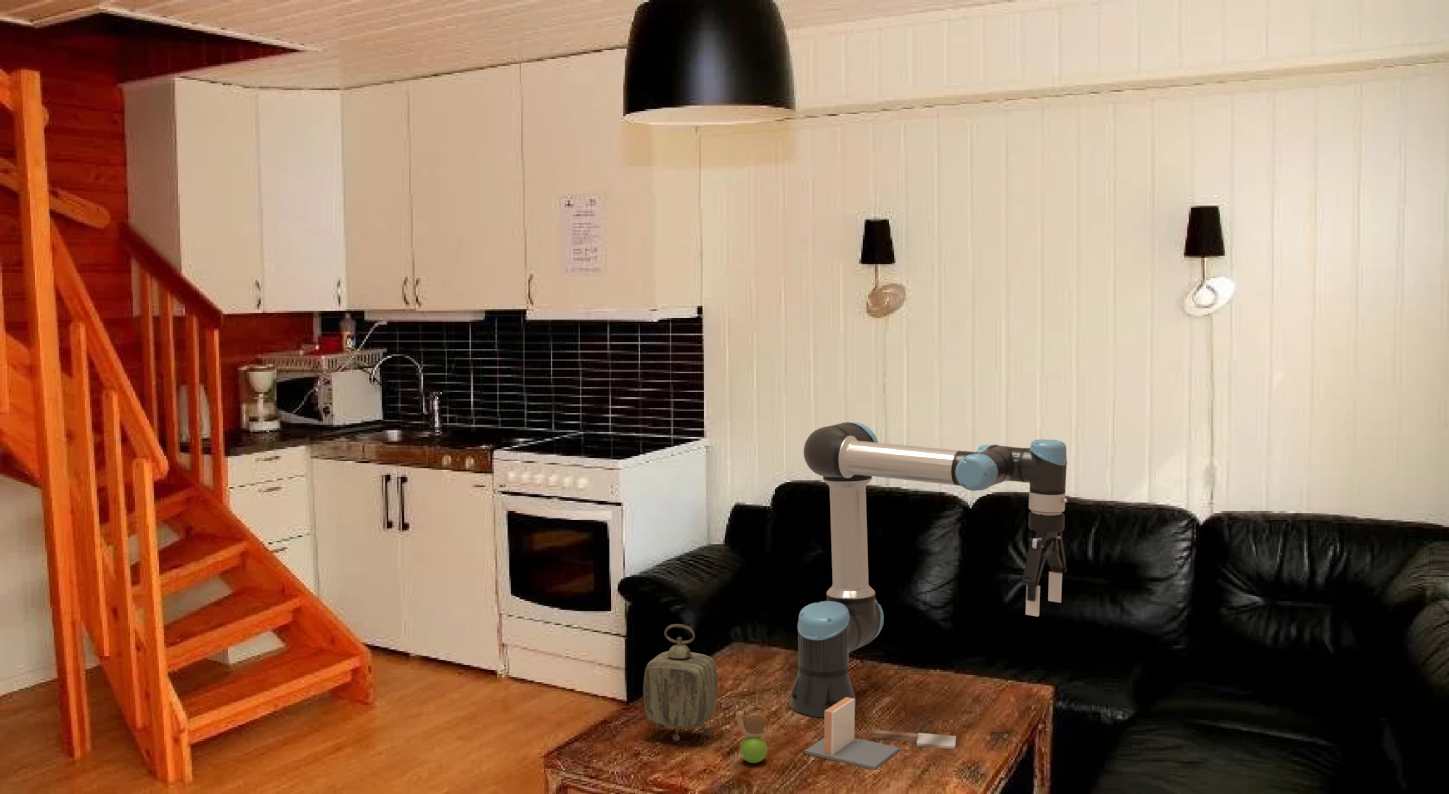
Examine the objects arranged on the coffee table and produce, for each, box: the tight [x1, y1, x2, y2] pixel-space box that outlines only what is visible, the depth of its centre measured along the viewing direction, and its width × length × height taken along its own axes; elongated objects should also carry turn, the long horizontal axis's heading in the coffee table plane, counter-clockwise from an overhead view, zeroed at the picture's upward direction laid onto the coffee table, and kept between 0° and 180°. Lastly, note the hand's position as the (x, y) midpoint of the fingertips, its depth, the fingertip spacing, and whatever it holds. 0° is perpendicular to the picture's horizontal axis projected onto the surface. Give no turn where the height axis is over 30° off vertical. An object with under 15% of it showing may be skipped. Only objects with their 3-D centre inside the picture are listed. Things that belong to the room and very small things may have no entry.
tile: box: [823, 697, 856, 755], centre depth 253 cm, size 2×10×9 cm, turn 148°
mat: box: [804, 737, 900, 771], centre depth 252 cm, size 16×12×1 cm
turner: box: [869, 729, 957, 750], centre depth 259 cm, size 18×6×1 cm, turn 77°
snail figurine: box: [735, 704, 768, 764], centre depth 246 cm, size 5×6×12 cm
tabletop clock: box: [642, 623, 719, 743], centre depth 259 cm, size 14×9×25 cm, turn 71°
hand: (1043, 608), depth 262 cm, fingers open, 13 cm apart
